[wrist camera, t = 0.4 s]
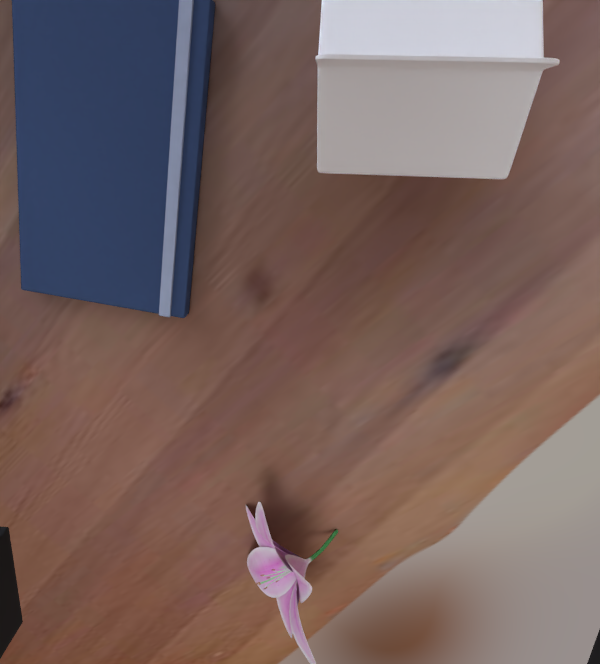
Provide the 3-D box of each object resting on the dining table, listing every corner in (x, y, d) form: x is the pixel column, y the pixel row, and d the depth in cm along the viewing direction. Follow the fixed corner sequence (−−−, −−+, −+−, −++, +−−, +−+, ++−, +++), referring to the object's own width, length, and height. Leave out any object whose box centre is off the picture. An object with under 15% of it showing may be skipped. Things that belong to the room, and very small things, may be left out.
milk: (425, 155, 34) (544, 196, 14) (331, 152, 35) (309, 188, 14) (436, 48, 32) (597, -92, 12) (335, 46, 33) (318, -91, 12)
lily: (284, 439, 44) (204, 519, 37) (408, 531, 40) (346, 639, 33) (254, 516, 51) (183, 594, 44) (357, 599, 48) (297, 699, 41)
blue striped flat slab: (21, -29, 33) (7, -36, 31) (215, 2, 32) (209, -4, 31) (30, 285, 40) (18, 290, 38) (189, 313, 39) (183, 319, 38)
